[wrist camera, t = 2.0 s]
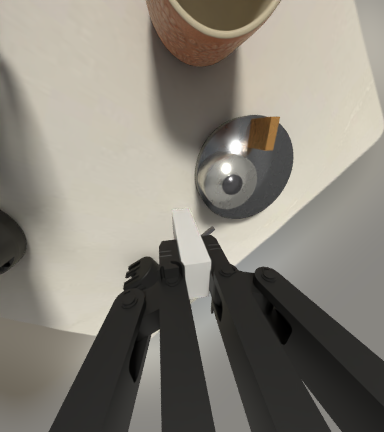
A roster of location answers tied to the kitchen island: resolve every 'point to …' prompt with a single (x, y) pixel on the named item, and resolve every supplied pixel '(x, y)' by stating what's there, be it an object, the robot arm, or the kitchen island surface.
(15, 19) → the kitchen island surface
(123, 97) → the kitchen island surface
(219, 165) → the cover
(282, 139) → the turntable
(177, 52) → the planter
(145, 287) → the end cap
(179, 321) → the robot arm
